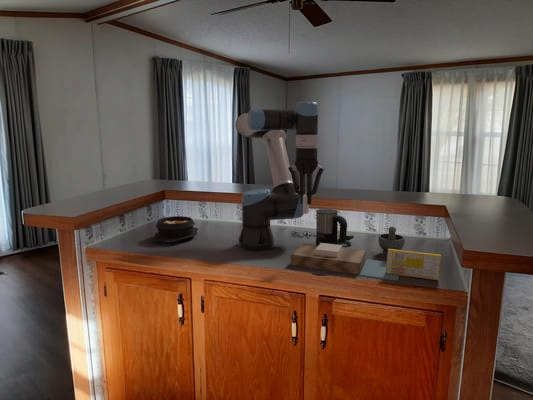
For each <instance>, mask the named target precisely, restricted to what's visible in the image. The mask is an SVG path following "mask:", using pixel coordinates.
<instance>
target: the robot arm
mask: <svg viewBox="0 0 533 400" xmlns="http://www.w3.org/2000/svg"><path fill="white" fill-rule="evenodd" d="M295 105H296V106H295V108H294V109H292V108H291V109H287V108H286V109H282V108H281V109H276V108H275V109H274V108H273V109H266V108H265V109H261V108H254V109H252V108H251V109H250V110H248V112H246V113H242V114H241V115H239V116H238V117H237V118H236V120H235V129H236V131H237V132H238V133H239V134H240V135H242V136H244V137H247V138H252V139H261V142H262V144H264V145H265V147H266V152H267V156H268V163H269V168H270V172H271V177H272V182H273V188H272V189H270V188H265V187H264V188H256V189H255V188H254V189H250V190H247V191H245V192H243V194H242V196H241V219H242V220H241V224H242V225H241V231H240V235H239V236H238V240H237V241H238V242H237V243H238V248H240V249H242V250H247V251H264V250H269V249H272V248H274V247H275V245H276V243H275V237H274V233H273V231H272V228H271V221H276V220H277V221H279V220H293V219H300V218H302V217H303V215H308V214H309V213H310V211H309V210H310V205H312V199H313V198H312V197H313V195H315V194H317V193H318V188H319V185H320V181H321V178H322V174H323V173H324V171H325V167H323V166H321V165H320V164H319V162H318V148H317V146H318V128H319V127H318V126H319V104H318V102H316V101H299V102H297V103H296V104H295ZM289 131H295V147H296V148H295V161H294V163H293V165H290V161H289V160H290V159H289V157H288V152H287V147H286V143H285V141H286V140H287V137H288V136H289ZM315 170H316V176H315V179H314V183H313V173H314V172H315ZM297 171H298V173H299V178H298V174H297Z"/></svg>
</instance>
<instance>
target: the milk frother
mask: <svg viewBox="0 0 533 400" xmlns="http://www.w3.org/2000/svg"><path fill="white" fill-rule="evenodd" d="M315 212H316V216H315V217H316V218H315V220H316V225H315V226H316V233H315V234H316V237H315V244H314V245H320V244H321V243H326V244H335V245H343V244H345V243H346V242H348V241H351V240H353V239H354V238H355V236H354V235H347V232H348V231H347V230H348V222H347V220H346V218H345V217H344V216H342V215H338V213H339V210H337V209H332V208H320V209H316V210H315ZM338 224H339V226H338ZM338 228H339V231H338ZM338 232H339V237H338Z"/></svg>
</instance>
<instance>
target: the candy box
mask: <svg viewBox="0 0 533 400" xmlns="http://www.w3.org/2000/svg"><path fill="white" fill-rule="evenodd" d="M441 261H442V255H441V254H437V253H428V252H421V251H420V252H419V251H414V250H413V251H412V250H405V249H404V250H403V249H401V250H396V249H388V254H387V256H386V262H387V266H386V273H388V274H396V275H399V276H403V277H411V278H416V279H417V278H419V279H425V280H433V281H439V280H440V272H441Z"/></svg>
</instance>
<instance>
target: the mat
mask: <svg viewBox="0 0 533 400" xmlns="http://www.w3.org/2000/svg"><path fill="white" fill-rule="evenodd" d="M386 266H387V261H385V260H377V259H368V258H367V259H365V263H364V265H363V268H362V270H361V272H360V274H359V276H360V277H365V278H366V277H368V278H374V279H380V280H381V279H382V280H388V281H394V282H395V281H396V282H398V281H399V279H400V278H399V277H400V275H396V274H388V273H386Z"/></svg>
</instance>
